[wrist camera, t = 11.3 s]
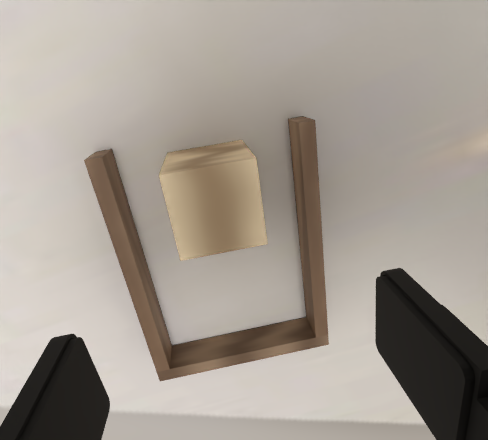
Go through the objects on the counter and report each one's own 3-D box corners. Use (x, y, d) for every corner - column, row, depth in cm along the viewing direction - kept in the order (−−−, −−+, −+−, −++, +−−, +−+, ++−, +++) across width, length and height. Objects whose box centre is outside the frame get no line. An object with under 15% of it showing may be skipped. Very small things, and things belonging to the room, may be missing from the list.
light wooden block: (242, 139, 27) (257, 157, 21) (252, 208, 29) (268, 243, 23) (166, 152, 27) (158, 175, 20) (183, 221, 29) (179, 261, 23)
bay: (302, 116, 27) (315, 120, 24) (318, 323, 35) (328, 344, 32) (95, 151, 26) (84, 160, 23) (162, 357, 34) (160, 381, 31)
